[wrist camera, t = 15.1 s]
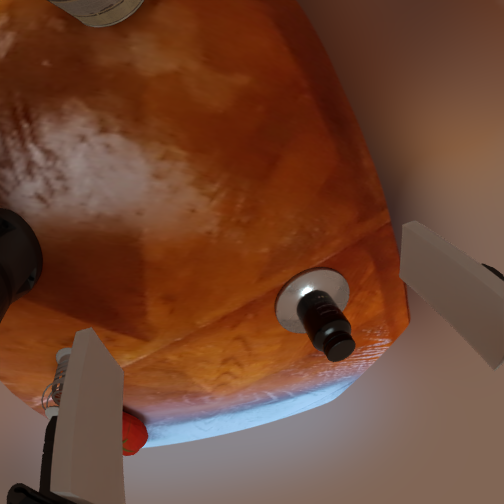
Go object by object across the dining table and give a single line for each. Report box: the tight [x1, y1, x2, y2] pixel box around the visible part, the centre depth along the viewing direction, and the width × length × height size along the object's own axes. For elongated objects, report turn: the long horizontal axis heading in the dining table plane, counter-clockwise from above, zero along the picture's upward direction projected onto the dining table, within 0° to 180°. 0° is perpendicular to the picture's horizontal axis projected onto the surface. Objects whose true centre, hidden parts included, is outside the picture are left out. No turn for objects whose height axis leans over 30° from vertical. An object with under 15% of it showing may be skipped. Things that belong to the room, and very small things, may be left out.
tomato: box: [122, 411, 148, 456], centre depth 56 cm, size 14×16×10 cm
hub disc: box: [275, 267, 349, 333], centre depth 53 cm, size 14×14×1 cm
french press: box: [41, 348, 72, 420], centre depth 39 cm, size 10×12×25 cm
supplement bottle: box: [296, 290, 355, 362], centre depth 47 cm, size 7×7×12 cm
